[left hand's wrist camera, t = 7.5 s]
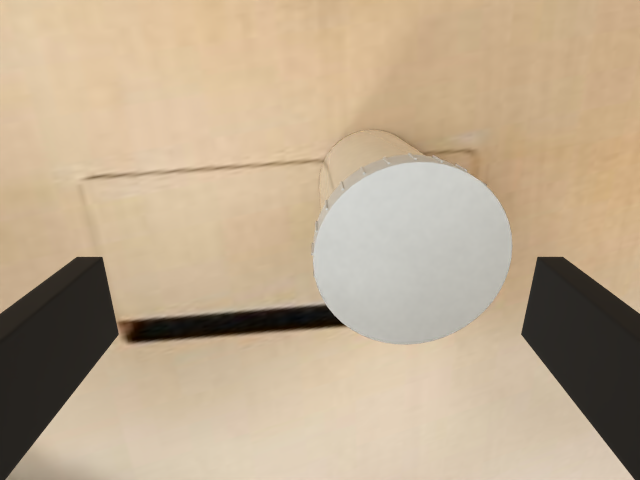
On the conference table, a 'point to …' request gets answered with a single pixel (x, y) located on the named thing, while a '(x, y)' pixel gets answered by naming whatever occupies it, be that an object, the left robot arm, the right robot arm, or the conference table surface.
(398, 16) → the conference table surface
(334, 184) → the jar
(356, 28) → the conference table surface
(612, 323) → the left robot arm
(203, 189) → the conference table surface
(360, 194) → the lid
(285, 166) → the conference table surface
